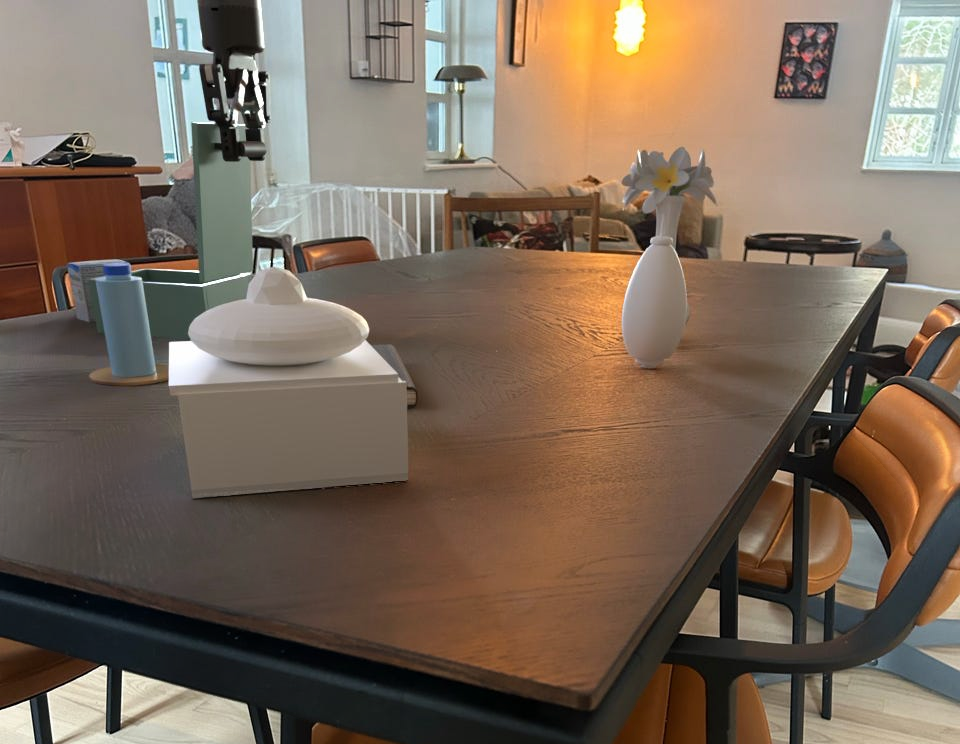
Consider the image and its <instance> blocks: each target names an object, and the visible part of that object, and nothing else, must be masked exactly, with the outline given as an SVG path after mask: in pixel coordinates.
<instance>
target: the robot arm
mask: <svg viewBox="0 0 960 744" xmlns="http://www.w3.org/2000/svg"><path fill="white" fill-rule="evenodd" d="M196 1H197V10H198V19H199V28H200V29H199V30H200V38H201V46H202V48H203V49H204V50H205V51H206V52H210V53H212V63H201V64H200V63H199V66H198V72H199V77H200V82H201V89H202V94H203V100H204V106H205V111H206V112H205V113H206V118H207V119H208V121H209V122H213V123H215V124H216V126H217V127H219V129H220V137H221V147H222V156H223V160H224V161H226V162H239V161H240V160H241V154H240V144H239V133H238V129H237V128H234V127H237V124H238V120H239V112H240V114H241V117H242V119H243V124H244V125H245V127H246V128H248V129H245V134H246V141H261V142H263V143H264V144H265V140H264V130H263V129H265V128H266V124H270V123H272V107H271V105H272V104H271V76H270V72H269V71H268V70H263V71H262V70H261V71H260V70H258V66H257V63H256V62H257V61H256V58H255V56H256V55H257V54H262V53H263V52H264V50H265V38H264V25H263V14H262V13H263V12H262V2H261V0H196ZM215 106H216V108H215ZM262 108H263V110H262ZM248 159H249V160H250V162H264V161H265V160H266V154H265V155H264V156H262V157H248Z"/></svg>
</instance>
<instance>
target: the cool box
mask: <svg viewBox="0 0 960 744" xmlns="http://www.w3.org/2000/svg"><path fill="white" fill-rule="evenodd" d="M131 271H132V274H131V276H136V277H141V278H142V282H143V288H144V295H145V302H146V308H147V315H148V321H149V328H150V334H151V338H152V337H153V338H166V339H178V340H191V339H190V337H189V335H188V331H189V327H190V324H191V323H192V322H193V320H194V319H195V318H196V317H198V316H199V315H201V314H202V313H204V312H205V311H207V310H210V309H212V308H214V307H216V306H219V305H222V304H226V303H230V302H233V301H238V300H244V299H246V297H247V291H248V285H249V283H250V282H251V280H252V274H251V273H243V274H238V275H234V276H230V277H226V278H222V279H218V280H213V281H209V282H205V283H203V282H199V270H183V269H182V270H181V269H179V270H178V269H160V268H139V269H135V270H131ZM104 277H105V276H104ZM99 278H101V277H99ZM96 279H97V278H93V279H89V280H88V282H89V287H90V293H91V298H92V304H93V309H94V315H95V326H96V331H97V334H105V331H104V326H103V320H102V314H101V309H100V303H99V297H98V292H97V286H96Z"/></svg>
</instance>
